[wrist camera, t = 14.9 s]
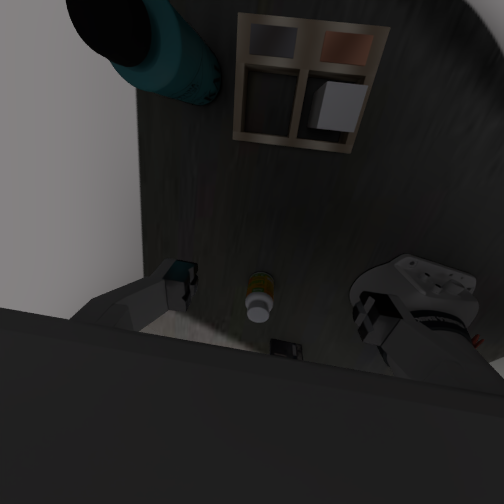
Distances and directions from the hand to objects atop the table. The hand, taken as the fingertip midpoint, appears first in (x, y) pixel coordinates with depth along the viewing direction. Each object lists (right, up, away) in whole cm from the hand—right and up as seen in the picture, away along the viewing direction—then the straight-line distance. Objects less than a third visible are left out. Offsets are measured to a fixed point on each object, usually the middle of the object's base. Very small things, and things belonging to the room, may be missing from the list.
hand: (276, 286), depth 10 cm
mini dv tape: (+8, -23, +46) cm, 52 cm away
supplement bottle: (+1, -5, +36) cm, 36 cm away
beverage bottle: (-8, +26, +18) cm, 32 cm away
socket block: (+5, +23, +18) cm, 30 cm away
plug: (+9, +21, +19) cm, 30 cm away
